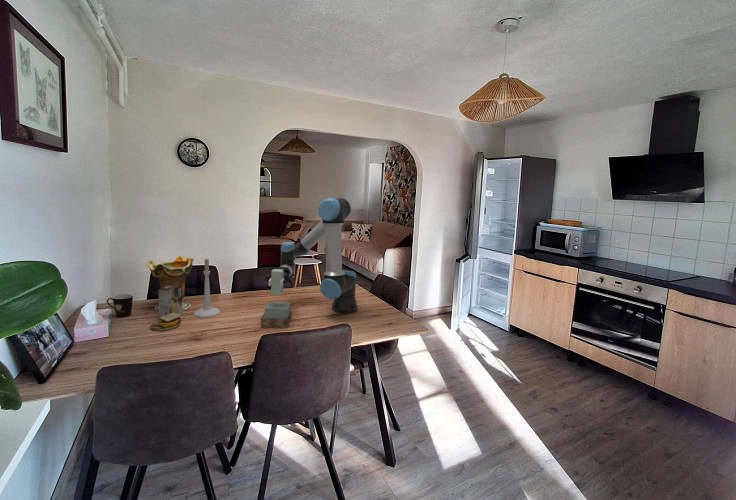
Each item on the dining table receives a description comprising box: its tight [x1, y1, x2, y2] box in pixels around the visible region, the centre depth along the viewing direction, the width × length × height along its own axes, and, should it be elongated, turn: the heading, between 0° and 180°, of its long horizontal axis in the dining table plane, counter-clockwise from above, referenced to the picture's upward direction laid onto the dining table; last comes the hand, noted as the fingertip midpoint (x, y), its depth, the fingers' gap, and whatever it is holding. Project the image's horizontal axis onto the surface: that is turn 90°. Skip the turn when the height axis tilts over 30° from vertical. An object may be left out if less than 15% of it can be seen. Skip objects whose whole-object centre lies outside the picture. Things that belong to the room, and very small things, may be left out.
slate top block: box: [264, 301, 291, 319], centre depth 183 cm, size 11×11×5 cm
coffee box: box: [157, 285, 184, 319], centre depth 182 cm, size 9×6×16 cm
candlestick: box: [193, 258, 221, 318], centre depth 190 cm, size 13×13×30 cm
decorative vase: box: [146, 255, 194, 311], centre depth 197 cm, size 21×23×28 cm
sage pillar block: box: [270, 268, 284, 296], centre depth 181 cm, size 5×5×12 cm
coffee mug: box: [106, 293, 134, 319], centre depth 183 cm, size 12×9×10 cm
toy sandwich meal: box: [149, 313, 182, 332], centre depth 172 cm, size 12×14×5 cm
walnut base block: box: [260, 310, 293, 329], centre depth 184 cm, size 13×13×5 cm
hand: (275, 283), depth 176 cm, fingers closed on sage pillar block, 5 cm apart
